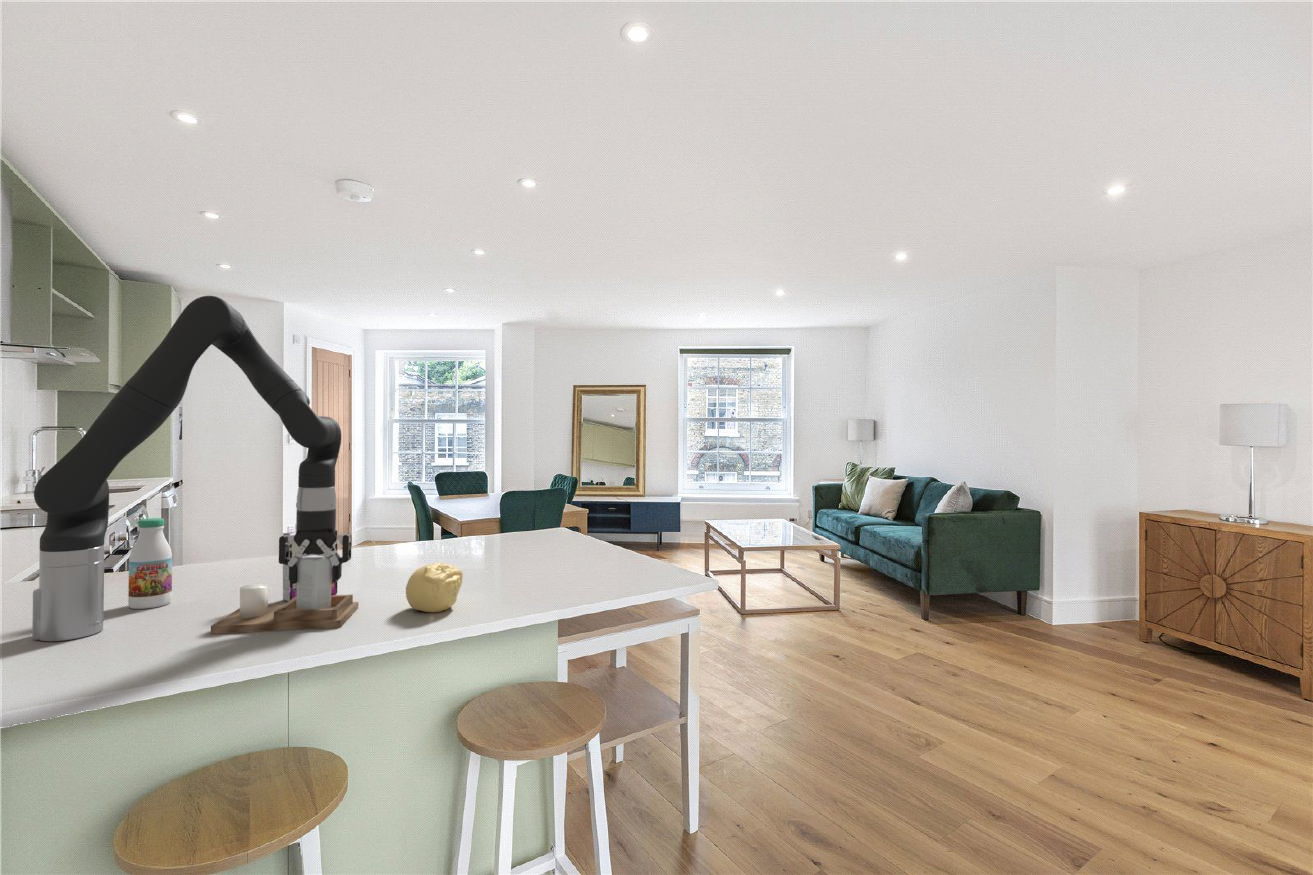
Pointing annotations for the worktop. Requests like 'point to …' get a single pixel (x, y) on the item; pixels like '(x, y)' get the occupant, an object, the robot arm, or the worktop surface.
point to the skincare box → (314, 582)
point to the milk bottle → (150, 567)
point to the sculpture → (434, 587)
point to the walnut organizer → (282, 613)
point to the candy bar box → (288, 587)
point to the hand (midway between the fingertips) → (315, 582)
